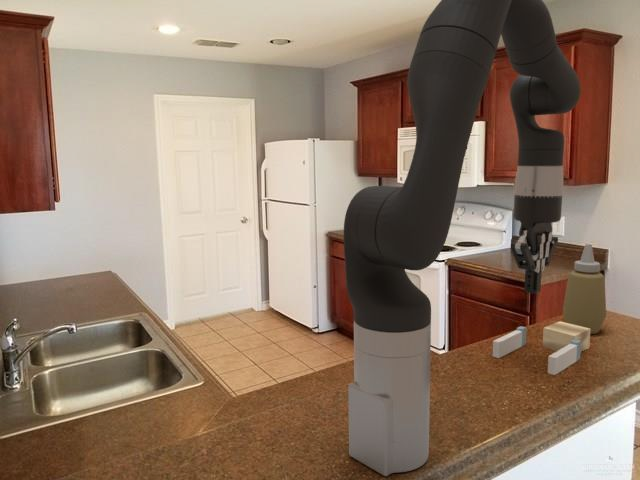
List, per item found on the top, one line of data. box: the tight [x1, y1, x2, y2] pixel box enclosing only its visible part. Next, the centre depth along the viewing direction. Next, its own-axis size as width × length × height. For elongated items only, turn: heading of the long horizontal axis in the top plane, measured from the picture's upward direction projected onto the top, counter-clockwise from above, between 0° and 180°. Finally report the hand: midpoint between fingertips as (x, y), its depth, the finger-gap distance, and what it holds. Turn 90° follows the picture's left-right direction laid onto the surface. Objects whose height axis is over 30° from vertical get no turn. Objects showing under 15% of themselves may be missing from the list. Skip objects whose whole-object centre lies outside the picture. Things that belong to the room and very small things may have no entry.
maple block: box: [542, 321, 591, 353], centre depth 99 cm, size 6×6×4 cm
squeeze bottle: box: [562, 244, 607, 335], centre depth 107 cm, size 8×8×18 cm
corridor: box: [492, 325, 582, 376], centre depth 94 cm, size 10×11×3 cm
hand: (532, 292), depth 91 cm, fingers closed
